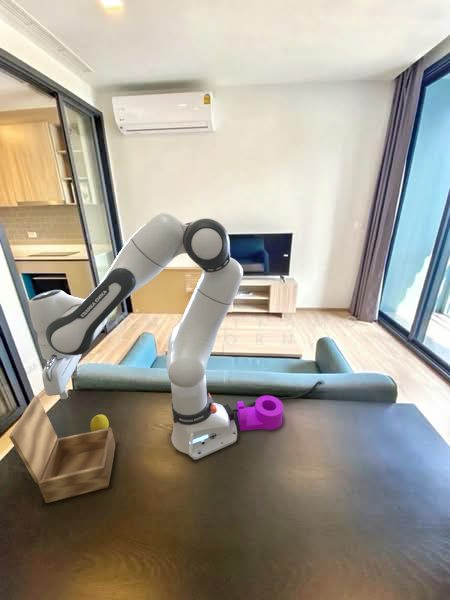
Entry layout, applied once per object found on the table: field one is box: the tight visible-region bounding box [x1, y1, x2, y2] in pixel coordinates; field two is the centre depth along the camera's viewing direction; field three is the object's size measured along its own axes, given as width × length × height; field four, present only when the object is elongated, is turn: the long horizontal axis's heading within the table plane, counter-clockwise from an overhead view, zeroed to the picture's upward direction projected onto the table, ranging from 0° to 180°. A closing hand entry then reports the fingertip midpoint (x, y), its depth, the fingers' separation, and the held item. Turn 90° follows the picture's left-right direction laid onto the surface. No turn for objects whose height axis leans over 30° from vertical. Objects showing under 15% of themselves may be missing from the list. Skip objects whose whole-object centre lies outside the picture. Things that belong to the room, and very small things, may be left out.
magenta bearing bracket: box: [236, 395, 284, 432], centre depth 91 cm, size 16×10×6 cm, turn 96°
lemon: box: [90, 414, 110, 432], centre depth 85 cm, size 6×6×8 cm
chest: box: [37, 427, 116, 504], centre depth 73 cm, size 16×14×8 cm
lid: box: [8, 395, 58, 484], centre depth 66 cm, size 16×14×1 cm
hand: (70, 386), depth 75 cm, fingers open, 8 cm apart
